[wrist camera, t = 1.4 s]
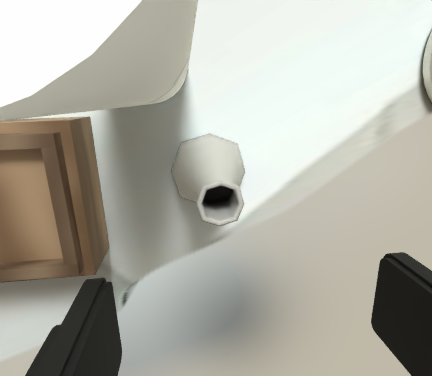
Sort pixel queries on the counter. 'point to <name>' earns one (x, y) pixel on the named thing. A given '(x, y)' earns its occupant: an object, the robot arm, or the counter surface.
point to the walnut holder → (49, 200)
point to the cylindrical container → (91, 54)
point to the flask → (211, 177)
